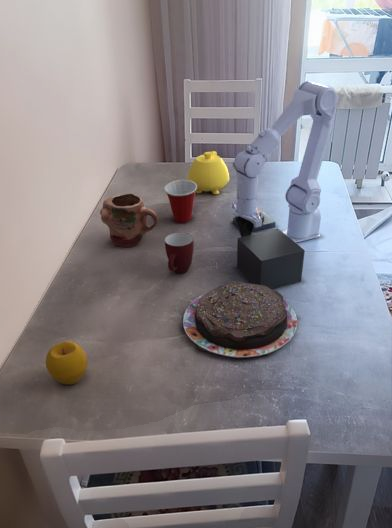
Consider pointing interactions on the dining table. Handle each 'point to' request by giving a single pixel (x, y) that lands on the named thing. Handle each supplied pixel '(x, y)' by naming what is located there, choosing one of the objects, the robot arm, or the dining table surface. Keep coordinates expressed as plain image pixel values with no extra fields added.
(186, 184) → the plastic cup
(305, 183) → the robot arm
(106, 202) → the brown clay mug
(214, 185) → the teapot
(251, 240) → the black block
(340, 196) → the dining table surface
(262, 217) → the control block
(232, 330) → the chocolate cake
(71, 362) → the apple
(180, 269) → the mug
